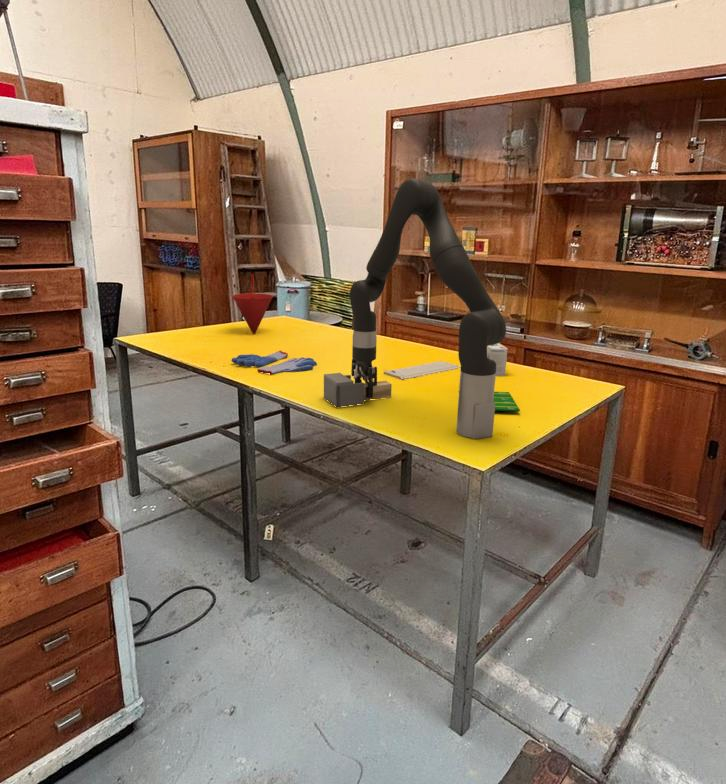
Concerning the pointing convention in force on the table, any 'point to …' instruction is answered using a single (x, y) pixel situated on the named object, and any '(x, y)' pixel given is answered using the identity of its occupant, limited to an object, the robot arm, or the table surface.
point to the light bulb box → (498, 357)
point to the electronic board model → (504, 402)
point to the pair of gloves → (286, 366)
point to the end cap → (342, 390)
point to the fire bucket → (252, 307)
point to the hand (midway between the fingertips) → (363, 394)
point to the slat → (380, 390)
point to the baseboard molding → (421, 370)
